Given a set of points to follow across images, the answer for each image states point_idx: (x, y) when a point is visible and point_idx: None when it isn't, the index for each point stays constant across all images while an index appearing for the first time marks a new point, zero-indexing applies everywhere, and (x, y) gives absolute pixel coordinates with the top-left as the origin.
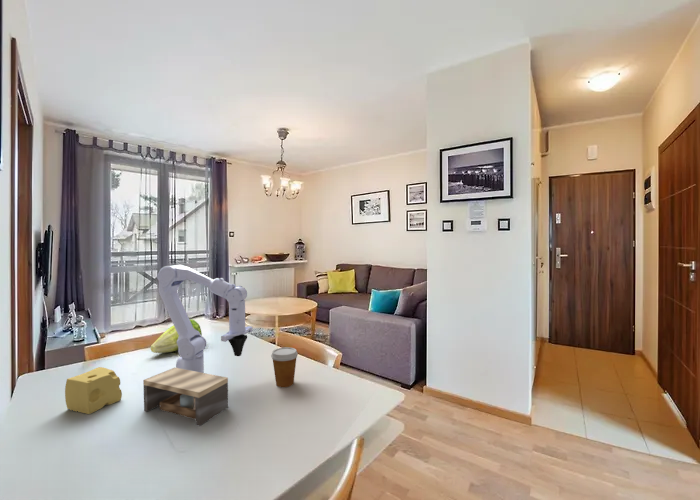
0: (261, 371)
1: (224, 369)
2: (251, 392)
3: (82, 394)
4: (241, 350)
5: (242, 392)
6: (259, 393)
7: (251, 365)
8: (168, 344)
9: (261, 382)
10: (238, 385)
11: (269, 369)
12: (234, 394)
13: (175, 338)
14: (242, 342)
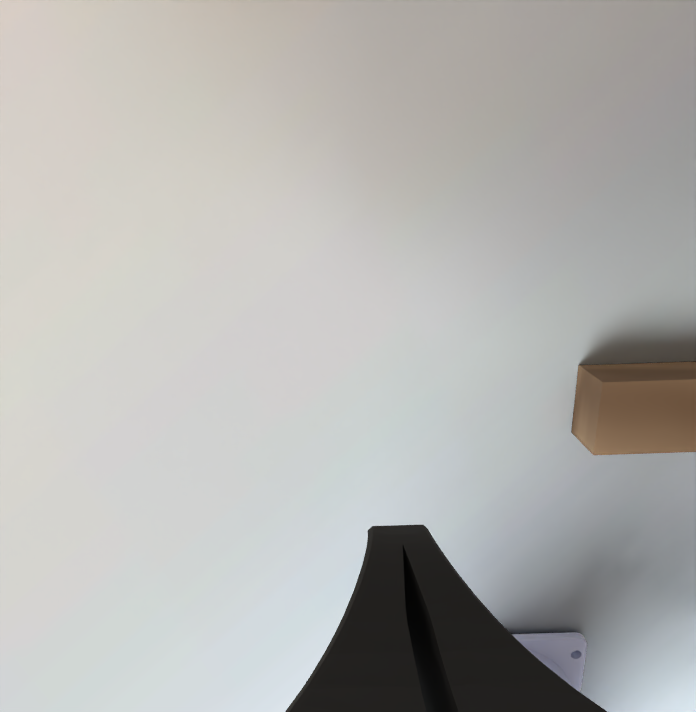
0: (116, 353)
1: (246, 650)
2: (545, 105)
3: None
4: (391, 567)
5: (570, 191)
6: (541, 4)
7: (62, 527)
8: None
9: (321, 171)
10: (458, 331)
11: (34, 313)
12: (624, 231)
13: None
14: (420, 691)
